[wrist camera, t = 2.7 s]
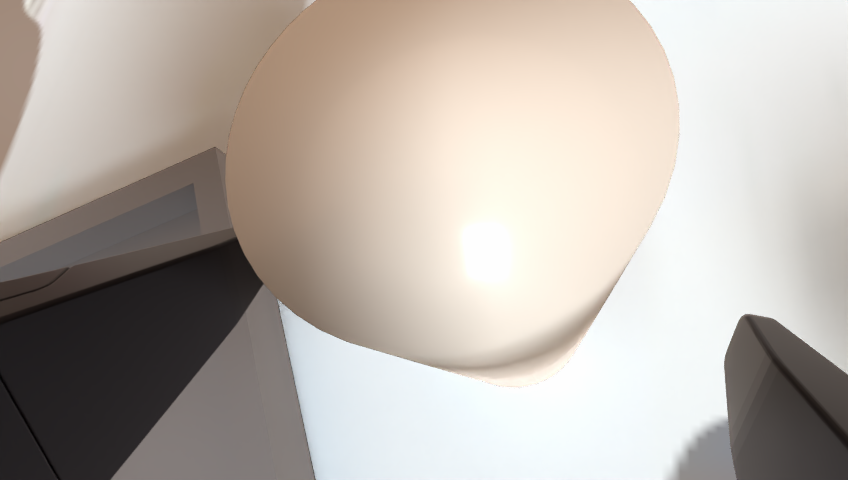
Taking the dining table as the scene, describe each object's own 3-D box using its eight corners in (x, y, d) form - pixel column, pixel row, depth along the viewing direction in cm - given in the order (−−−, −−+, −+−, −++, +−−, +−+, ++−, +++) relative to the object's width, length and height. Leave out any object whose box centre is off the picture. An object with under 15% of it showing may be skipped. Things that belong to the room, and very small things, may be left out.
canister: (609, 358, 16) (791, 237, 4) (468, 407, 17) (268, 427, 5) (548, 227, 18) (553, -121, 6) (423, 276, 19) (198, 47, 7)
